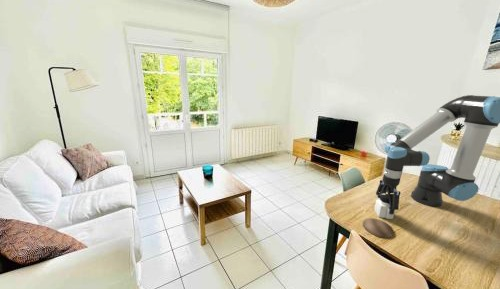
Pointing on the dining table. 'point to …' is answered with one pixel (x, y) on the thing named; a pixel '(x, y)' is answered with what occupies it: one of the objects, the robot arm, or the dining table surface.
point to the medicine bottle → (382, 206)
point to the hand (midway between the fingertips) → (383, 212)
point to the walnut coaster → (378, 228)
